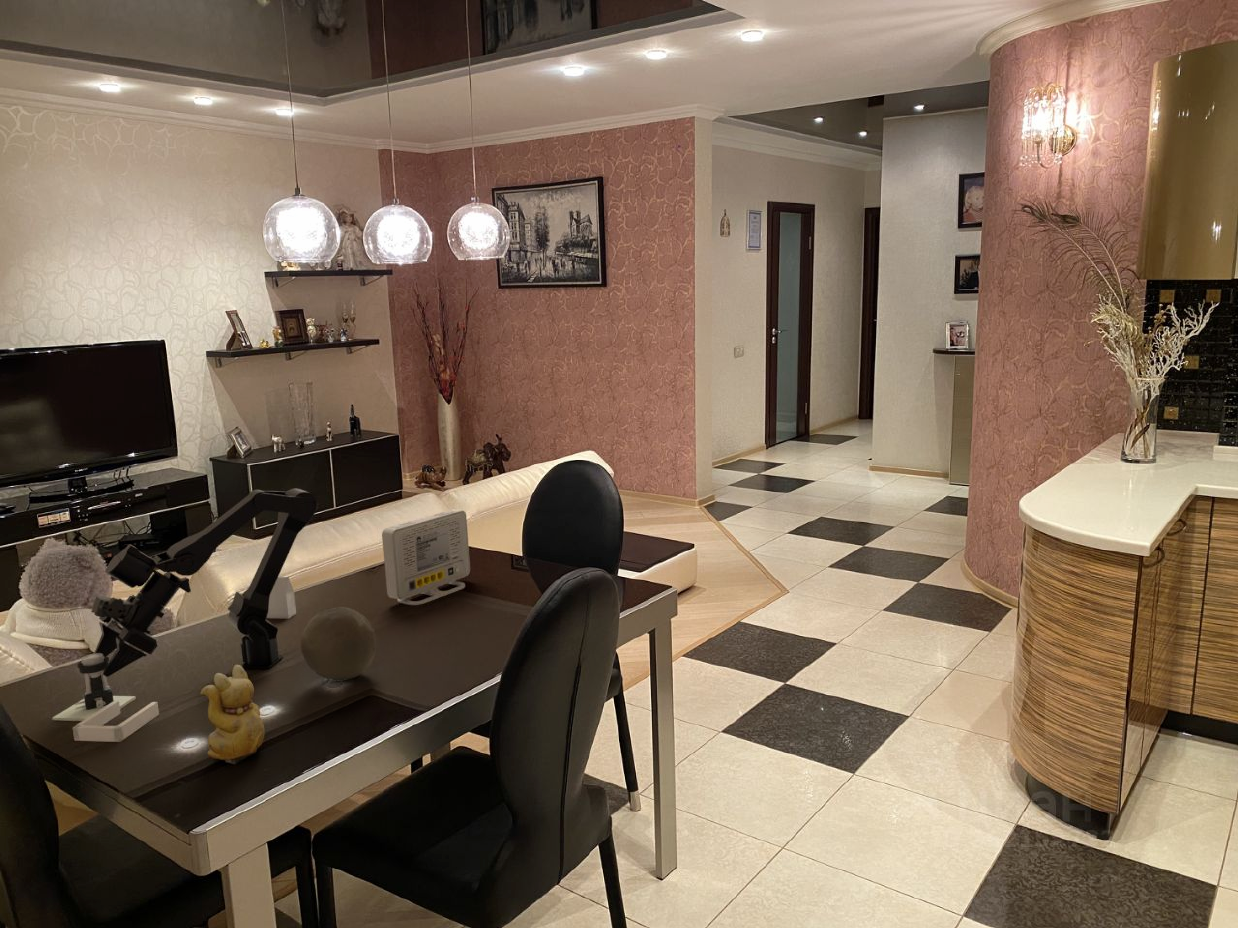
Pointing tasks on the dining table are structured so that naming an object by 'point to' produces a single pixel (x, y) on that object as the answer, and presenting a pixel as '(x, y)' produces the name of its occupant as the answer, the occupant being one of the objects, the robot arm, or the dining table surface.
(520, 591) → the dining table surface
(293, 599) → the white faceted block
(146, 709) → the white u-shaped bracket
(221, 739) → the decorative figurine
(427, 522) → the network device
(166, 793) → the dining table surface
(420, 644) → the dining table surface
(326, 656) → the cantaloupe
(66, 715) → the mat
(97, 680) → the push button
